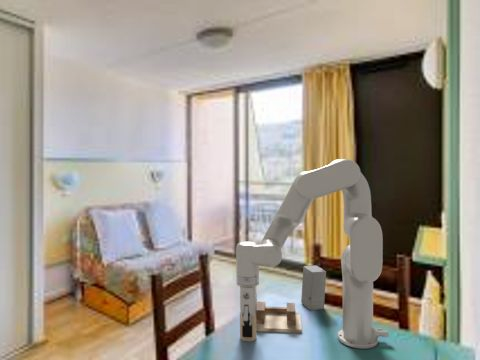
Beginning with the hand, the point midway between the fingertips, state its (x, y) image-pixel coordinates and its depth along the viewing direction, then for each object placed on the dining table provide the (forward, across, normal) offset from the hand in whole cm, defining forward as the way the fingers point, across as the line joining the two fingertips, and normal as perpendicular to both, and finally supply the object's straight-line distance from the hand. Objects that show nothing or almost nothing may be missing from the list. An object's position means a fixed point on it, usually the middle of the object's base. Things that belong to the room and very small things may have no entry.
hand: (248, 331), depth 121 cm
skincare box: (+2, +29, -24) cm, 38 cm away
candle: (+2, 0, 0) cm, 2 cm away
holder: (+2, +12, -9) cm, 15 cm away
